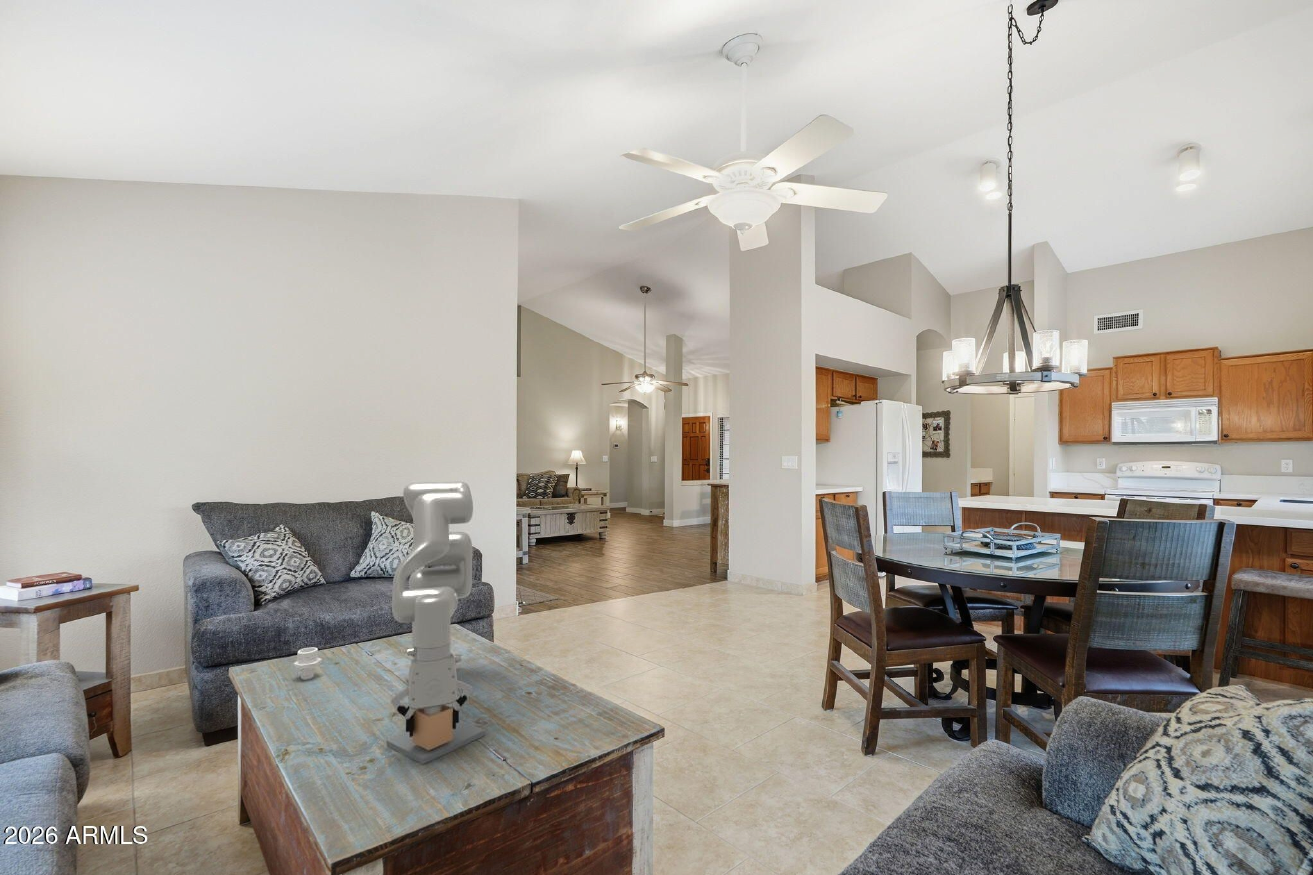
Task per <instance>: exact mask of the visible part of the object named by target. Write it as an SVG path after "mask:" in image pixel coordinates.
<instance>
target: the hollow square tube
mask: <svg viewBox="0 0 1313 875" xmlns="http://www.w3.org/2000/svg"><path fill="white" fill-rule="evenodd" d="M452 732H453V708H452V706H449V705H448V704H446V705H441V712H439V713H436V714H434V715H431V716H428V715H426V714H424V708H422V709H416V710H415V711H414V713H413V736H412V742H413V743H415V744H417V745H419V746H421V747H423V748H425V749H427V750H430V749H433V748H435V747H437V746H439V745H442V744H444V743H446V742H449V741H451V740H452Z"/></svg>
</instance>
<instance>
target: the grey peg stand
mask: <svg viewBox="0 0 1313 875" xmlns="http://www.w3.org/2000/svg"><path fill="white" fill-rule="evenodd" d="M439 712H441V705H440V706H435V707H428V708H424V714H426V715H428V716H431V715H434V714H436V713H439ZM485 730H486V729H484V728H481V727H478V726H477V725H473V724H471V723H469V722H466V721H464V720H461V719H459V723H456V729H453V732H452V740H451V741H449V742H446V743H444V744H442V745H439V746H437V747H435V748H433V749H430V750H427V749H425V748H423V747H421V746H419V745H417V744H415V743H413V742H412V737H410V735H409V732H406V731H405V732H404V733H401V734H399V735H397V736H394V737H391V738H389V739H387V740H386V747H388V748H390V749H392V750H394V751H396V752H398V753H400V754H402V755H404V756H406V757H408V758H410V759H411V760H413V761H415V762H417V763H419V764H421V765H425V764H428V763H429V762H431V761H433V760H435V759H437V758H439V757H442V756H444V755H446V754H448V753H450V752H452V751H454V750H457V749H458V748H461V747H463V746H465V745H467V744H470V743H472V742H474V741H476V740H478V739H480V738H482V737H484V736H485V735H486V731H485Z"/></svg>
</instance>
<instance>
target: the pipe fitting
mask: <svg viewBox="0 0 1313 875" xmlns="http://www.w3.org/2000/svg"><path fill="white" fill-rule="evenodd" d="M318 649H319V648H317V647H314V646H313V647H311V646H310V647H305V648H300V649H299V650H298V651H297V659H296V661H295V662H293V668H296V669H300V671H301V673H300V677H301V680H304V681H306V680H311V679H313V678H314V677H315V671H314V670H315V667H317V666H318V665H321V663H322V660H323V659H322V658H320V657H318V656H319V655H318V654H319V650H318Z"/></svg>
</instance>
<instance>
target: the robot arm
mask: <svg viewBox="0 0 1313 875" xmlns="http://www.w3.org/2000/svg"><path fill="white" fill-rule="evenodd" d="M402 492H403V493H402V496H403V500H404V504H405V506H406V507H407V509H408V511H409V513H410V516H411V517H412V519H413V520H412V521H413V529H412V530H413V532H412V533H413V534H412V535H413V536H412V537H413V538H412V539H413V540H412V541H413V542H412V545H413V546H412V549H411V551H410V552H409V553H408V554H407V555H406V556H405V557H404V558H403V559H402V561H401V562H400V564H399V565H398V567H397V569H396V570H395V572H394V576H393V578H392V579H393V580H392V592H391V593H392V595H391V596H392V597H391V598H392V599H391V613H392V616H393V618H394V620H395V621H396V622H397V623H401V624H406V623H407V624H409V623H411V625H412V627H411V628H412V630H411V631H412V632H411V633H412V635H411V636H412V639H411V644H412V647H411V648H410V649H409V648H408V649H407V656H408V657H409V656H410V657H412V658H411V661H410V666H409V672H408V673H407V675H406V681H407V683H408V684H407V687H406V688H404V689H403V690H401V691H400V692H399V693H397V694H396V695H394V696H393V697H392V698H391V700H390V701H391V702H390V703H391V704H392V706H393V707H394V709H396V711H397V713H398V714H400V715H401V716H402V717H404V719H405V733H406V732H409V735H410V737H412V736H413V713H414V711H415V710H416V709H422V708H428V707H435V706H440V705H451V707H452V708H453V729H456V723H459V720H460V709H461V707H463V705H464V704H465V703H466V702H467V701H468V698H469V696H470V695H471V693H472V691H473V687H472V685H470V684H467V683H465V682H464V681H461V680H459V679H458V675H457V666H456V665H457V664H458V663H461V661H462V657H461V656H460V655H457V656H455V655H454V654H453V653H451V617H452V616H454V614H455V611H457V609H458V607H459V606H458V603H459V599H465V598H467V597H469V595H470V594H471V592H472V588H473V587H472V585H473V544H472V538H471V536H470V535H469V534H468V533H467V532H464V531H450V525H455V524H460V525H461V524H468V523H470V521H471V520H472V518H473V515H474V513H473V512H474V502H473V497H472V493H471V489H470V486H469V485H468V483H467V482H465V481H421V482H413V483H409V484H407V485H406V486H405V487H404V488H403V491H402ZM422 567H424V568H422ZM420 568H421V569H420ZM408 578H409V580H408V589H406V582H407V579H408ZM458 689H460V690H462V691H463V692H462V694H461V695H460V696H459V697H458ZM406 697H407V702H408V705H407V706H405V705H403V703H401V701H402V700H404V698H406Z"/></svg>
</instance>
